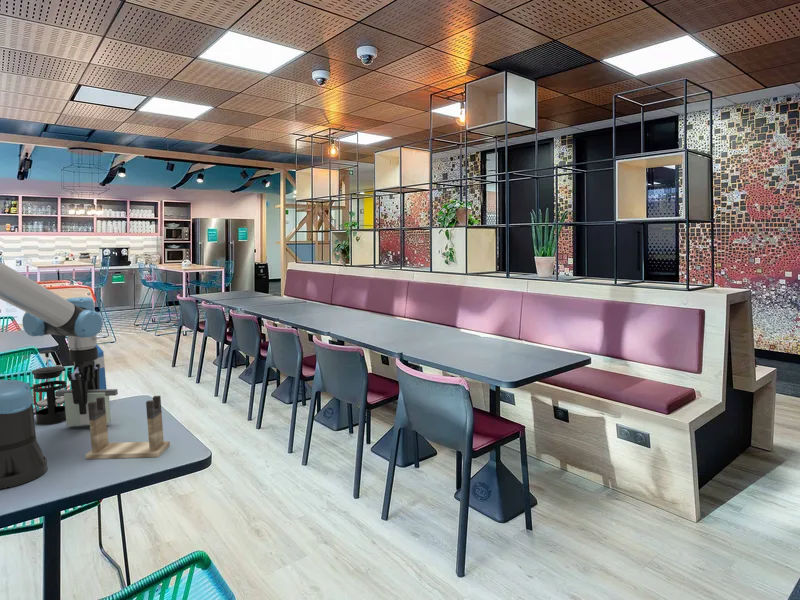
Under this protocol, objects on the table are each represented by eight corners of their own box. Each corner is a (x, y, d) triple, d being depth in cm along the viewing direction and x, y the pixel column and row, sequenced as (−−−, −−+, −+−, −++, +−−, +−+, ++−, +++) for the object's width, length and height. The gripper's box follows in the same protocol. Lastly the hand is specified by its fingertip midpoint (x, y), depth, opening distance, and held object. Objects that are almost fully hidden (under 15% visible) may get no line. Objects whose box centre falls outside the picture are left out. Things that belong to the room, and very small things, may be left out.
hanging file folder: (55, 426, 162) (52, 393, 161) (62, 422, 166) (59, 389, 165) (114, 425, 163) (112, 391, 162) (120, 421, 167) (118, 388, 166)
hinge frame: (85, 459, 141) (80, 405, 139) (101, 447, 149) (97, 395, 147) (158, 457, 142) (154, 403, 140) (169, 445, 150) (166, 394, 148)
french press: (72, 413, 179) (66, 346, 176) (72, 421, 171) (66, 351, 168) (30, 419, 173) (23, 350, 170) (28, 428, 165) (20, 356, 162)
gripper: (80, 352, 154) (86, 430, 157) (109, 342, 170) (114, 413, 173) (54, 353, 154) (61, 431, 157) (85, 342, 170) (90, 413, 173)
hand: (88, 421), depth 165 cm, fingers closed on hanging file folder, 3 cm apart
